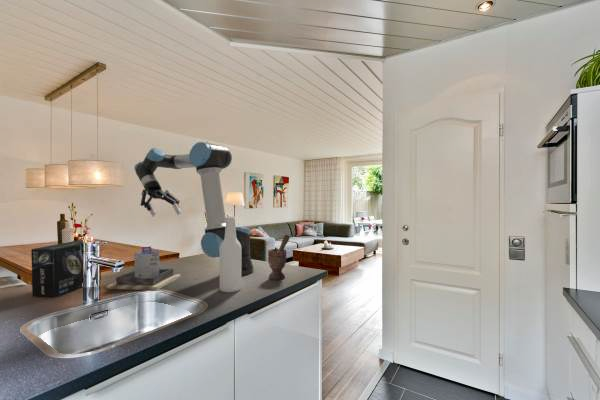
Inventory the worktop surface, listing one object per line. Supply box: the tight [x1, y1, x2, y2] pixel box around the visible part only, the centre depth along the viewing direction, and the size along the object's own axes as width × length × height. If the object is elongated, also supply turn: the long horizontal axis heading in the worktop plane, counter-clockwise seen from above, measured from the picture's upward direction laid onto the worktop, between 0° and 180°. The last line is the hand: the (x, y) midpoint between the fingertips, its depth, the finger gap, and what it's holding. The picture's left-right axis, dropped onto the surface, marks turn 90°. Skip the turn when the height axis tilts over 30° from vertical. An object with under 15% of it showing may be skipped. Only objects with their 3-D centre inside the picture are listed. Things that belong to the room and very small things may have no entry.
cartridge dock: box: [106, 268, 182, 291], centre depth 132 cm, size 22×20×4 cm
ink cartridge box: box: [133, 246, 160, 278], centre depth 132 cm, size 10×6×14 cm, turn 119°
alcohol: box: [219, 216, 242, 293], centre depth 121 cm, size 9×9×30 cm
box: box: [30, 239, 102, 299], centre depth 123 cm, size 23×10×19 cm, turn 174°
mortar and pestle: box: [267, 234, 291, 281], centre depth 140 cm, size 12×9×20 cm
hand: (167, 214), depth 149 cm, fingers open, 13 cm apart
